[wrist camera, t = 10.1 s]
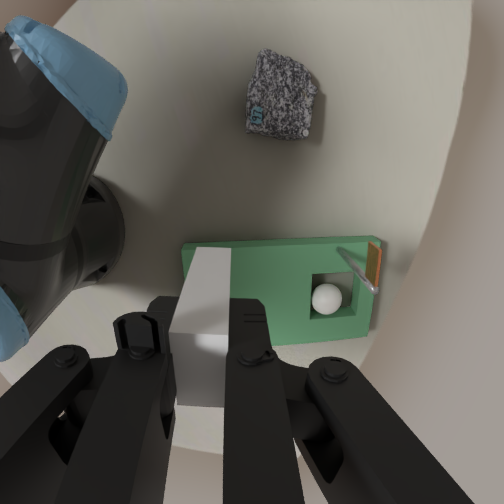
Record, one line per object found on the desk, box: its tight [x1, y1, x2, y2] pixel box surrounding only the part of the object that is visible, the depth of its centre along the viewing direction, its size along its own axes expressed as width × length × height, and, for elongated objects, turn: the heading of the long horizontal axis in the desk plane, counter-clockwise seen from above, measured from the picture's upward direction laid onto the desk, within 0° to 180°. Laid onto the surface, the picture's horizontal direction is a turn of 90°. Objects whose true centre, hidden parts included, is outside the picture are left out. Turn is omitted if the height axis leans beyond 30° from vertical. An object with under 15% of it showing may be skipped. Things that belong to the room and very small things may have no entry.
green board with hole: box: [181, 236, 381, 346], centre depth 39 cm, size 24×14×2 cm, turn 92°
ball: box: [311, 283, 342, 315], centre depth 39 cm, size 4×4×4 cm
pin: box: [336, 241, 382, 295], centre depth 31 cm, size 1×4×11 cm, turn 1°
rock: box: [245, 48, 317, 140], centre depth 31 cm, size 8×10×4 cm
